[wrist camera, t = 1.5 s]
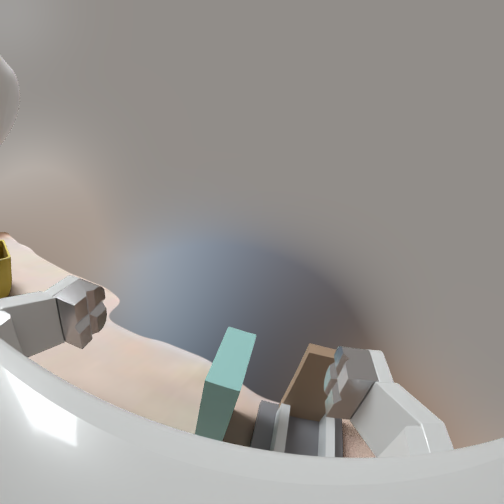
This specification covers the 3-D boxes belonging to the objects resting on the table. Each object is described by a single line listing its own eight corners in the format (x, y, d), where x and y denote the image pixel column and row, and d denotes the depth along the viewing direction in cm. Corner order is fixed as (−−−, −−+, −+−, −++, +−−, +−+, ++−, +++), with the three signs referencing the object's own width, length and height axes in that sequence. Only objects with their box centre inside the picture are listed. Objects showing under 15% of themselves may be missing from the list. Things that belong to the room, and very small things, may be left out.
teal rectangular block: (191, 447, 27) (203, 380, 22) (210, 401, 34) (227, 326, 29) (217, 456, 27) (241, 391, 21) (232, 409, 34) (257, 335, 29)
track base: (230, 518, 19) (263, 488, 14) (259, 404, 36) (288, 337, 30) (335, 530, 18) (407, 495, 13) (338, 421, 35) (382, 359, 30)
